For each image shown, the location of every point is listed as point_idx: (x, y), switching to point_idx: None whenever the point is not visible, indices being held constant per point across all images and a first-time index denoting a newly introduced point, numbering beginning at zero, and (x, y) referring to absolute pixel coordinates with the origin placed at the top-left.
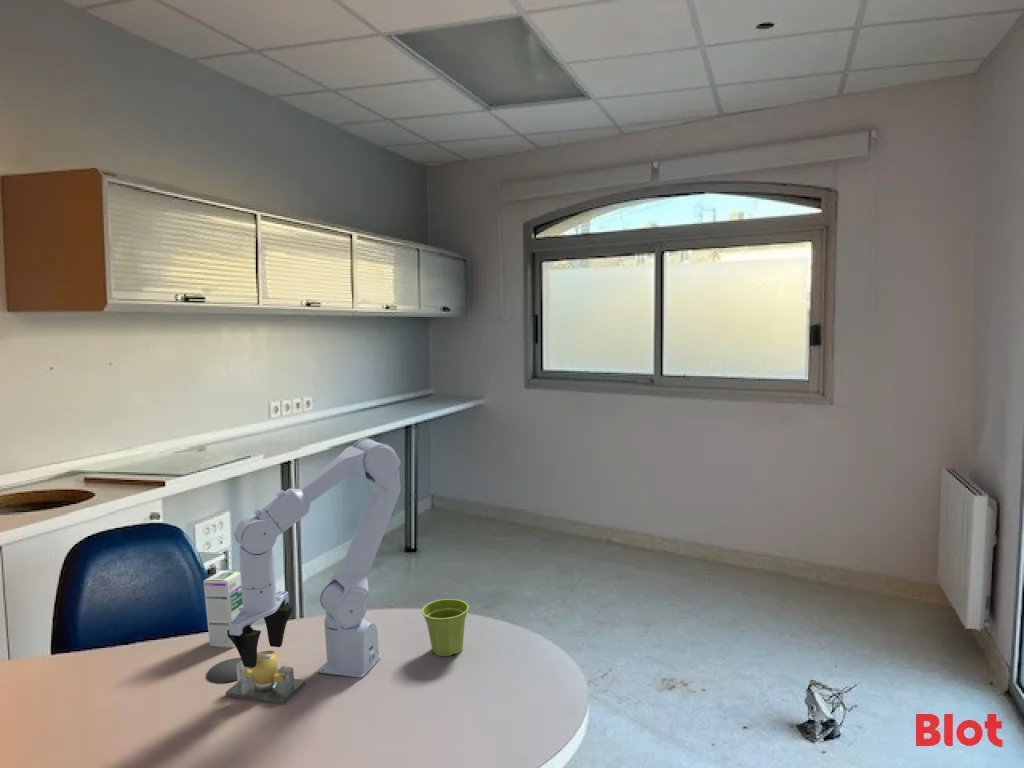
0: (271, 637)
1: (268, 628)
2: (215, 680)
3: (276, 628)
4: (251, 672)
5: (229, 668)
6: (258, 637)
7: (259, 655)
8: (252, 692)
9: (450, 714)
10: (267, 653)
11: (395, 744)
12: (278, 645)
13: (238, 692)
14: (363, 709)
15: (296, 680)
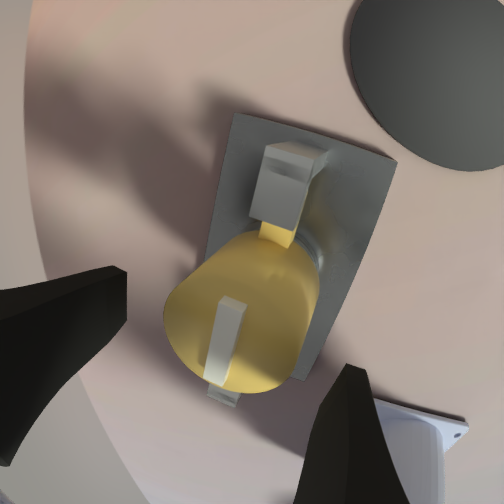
0: (336, 417)
1: (340, 462)
2: (356, 19)
3: (306, 497)
4: (264, 228)
5: (460, 49)
6: (20, 434)
7: (213, 327)
8: (230, 227)
9: (200, 500)
10: (261, 355)
11: (132, 450)
12: (319, 409)
13: (231, 169)
14: (198, 448)
15: (305, 359)
